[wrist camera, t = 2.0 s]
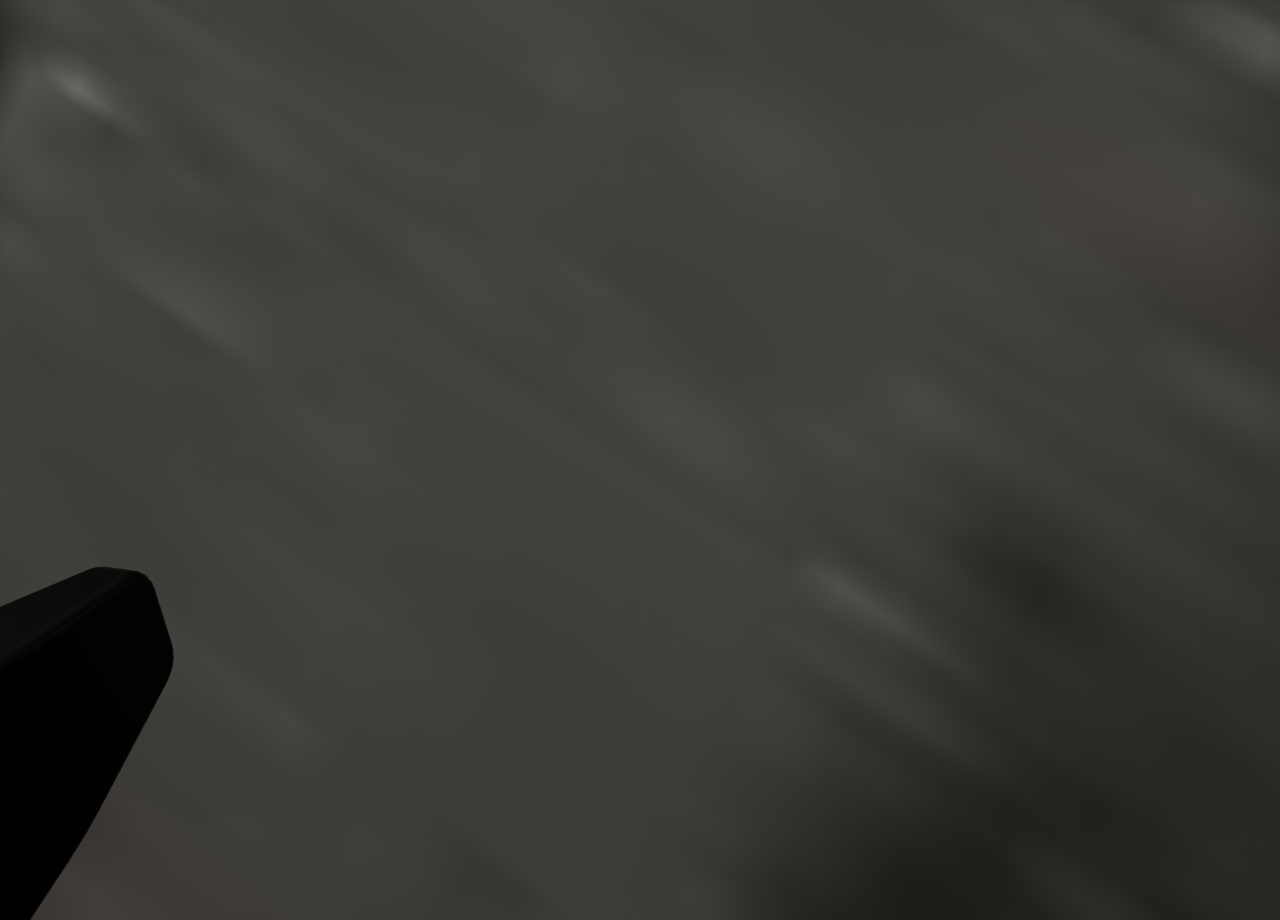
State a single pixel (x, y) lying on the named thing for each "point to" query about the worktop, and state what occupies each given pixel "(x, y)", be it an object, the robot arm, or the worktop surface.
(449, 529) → the worktop surface
